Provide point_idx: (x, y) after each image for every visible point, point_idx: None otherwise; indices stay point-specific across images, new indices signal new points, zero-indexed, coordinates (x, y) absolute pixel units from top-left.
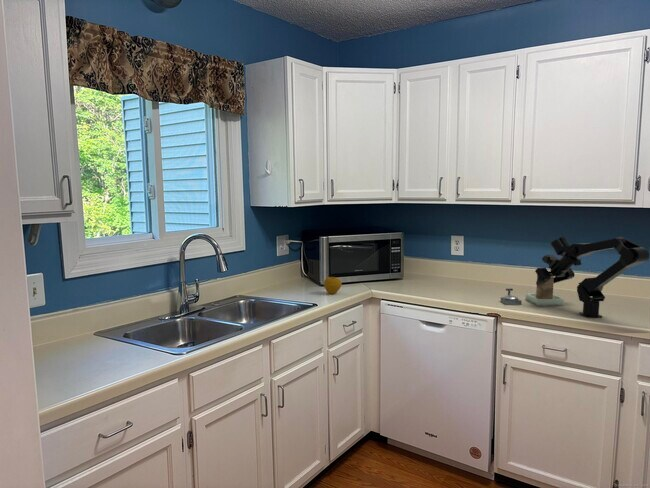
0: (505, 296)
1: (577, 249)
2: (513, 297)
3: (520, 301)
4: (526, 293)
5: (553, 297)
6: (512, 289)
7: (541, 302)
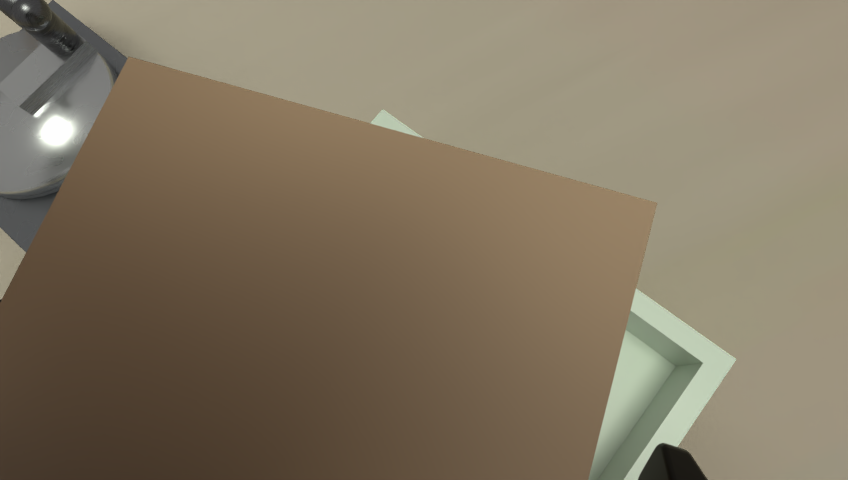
0: (7, 47)
1: None
2: (13, 138)
3: (27, 249)
4: (383, 116)
5: (624, 454)
6: (16, 22)
7: None
